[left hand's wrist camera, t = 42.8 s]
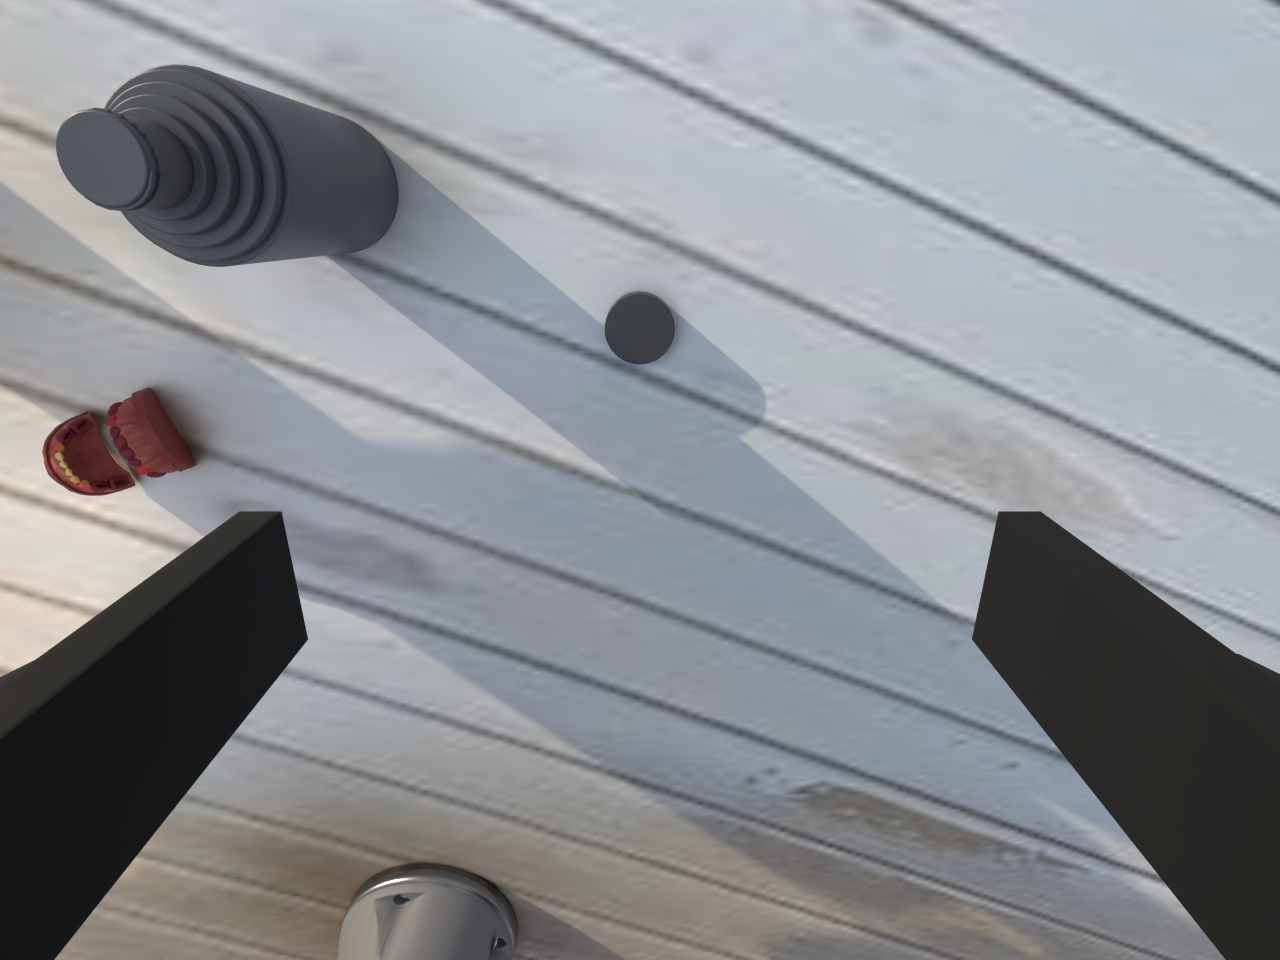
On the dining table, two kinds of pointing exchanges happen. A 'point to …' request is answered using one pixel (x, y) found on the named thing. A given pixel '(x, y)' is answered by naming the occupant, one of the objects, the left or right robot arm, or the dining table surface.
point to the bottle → (229, 169)
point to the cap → (639, 327)
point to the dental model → (137, 425)
